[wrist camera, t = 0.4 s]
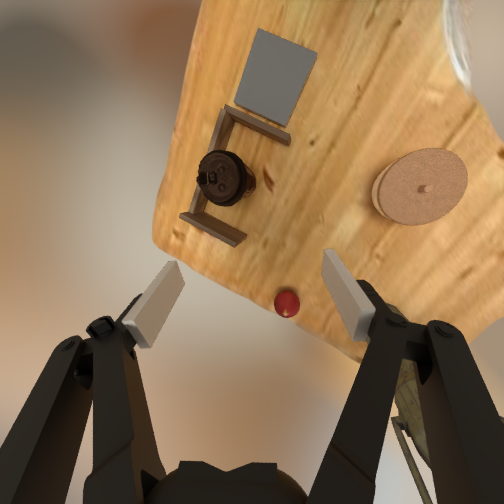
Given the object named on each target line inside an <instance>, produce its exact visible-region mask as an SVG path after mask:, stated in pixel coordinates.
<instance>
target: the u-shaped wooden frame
mask: <svg viewBox="0 0 504 504" xmlns="http://www.w3.org/2000/svg"><path fill="white" fill-rule="evenodd" d="M235 121H237V122H239V123H241V124H243V125H245V126H247V127H249V128H251V129H254V130H256V131H258V132H260V133H262V134H264V135H266V136H268V137H270V138H273V139H275V140H277V141H279V142H281V143H283V144H285V145H287V146H289V145H290V142H291V136H290V134H288V133H286V132H284V131H282V130H279V129H277V128H275V127H273V126H271V125H269V124H267V123H265V122H262V121H260V120H258V119H256V118H254V117H252V116H250V115H247V114H245V113H243V112H241V111H239V110H237V109H235V108H233V107H230V106H228V105H226V104H225V106H224V109H222V108H221V110H220V113H219V116H218V119H217V122H216V126H215V129H214V132H213V135H212V138H211V142H210V145H209V148H208V151H207V154H208V153H210V152H211V151H214V150H219V149H220V150H224V151H225V149H226V146H227V143H228V140H229V137H230V134H231V131H232V129H233V126H234V123H235ZM207 154H206V155H207ZM207 201H208V199H207V198H206V197H205V196H204V195H203V191H202V189H201V188H200V187H199V185H198V183H197V186H196V189H195V192H194V196H193V199H192V202H191V205H190V208H189V212H184V213H180V215H179V218H180V219H182V220H184V221H186V222H188V223H190V224H192V225H193V226H195V227H197V228H199V229H201V230H203V231H205V232H206V233H208V234H210V235H212V236H214V237H216V238H218V239H220V240H221V241H223V242H225V243H227V244H229V245H231V246H233V247H234V248H235V247H236V246H237V245H239V244H240V243H241V242H242V241H243V240H245V239H246V237H247V235H246V234H245V233H243V232H241V231H239V230H237V229H235V228H233V227H231V226H229V225H228V224H226V223H224V222H222V221H220V220H218V219H216V218H214V217H212V216H210V215H209V214H207V213H205V212H204V209H205V206H206V204H207Z"/></svg>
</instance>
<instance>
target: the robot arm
mask: <svg viewBox="0 0 504 504" xmlns="http://www.w3.org/2000/svg"><path fill="white" fill-rule="evenodd" d="M322 277H323V279H324V282H325V284H326V286H327V288H328V290H329V292H330V294H331V296H332V299H333V301H334V303H335V305H336V307H337V309H338V311H339V313H340V316H341V318H342V320H343V322H344V324H345V326H346V328H347V330H348V332H349V335H350V337H351V339H352V341H366V338H367V335H368V336H369V338H370V342H369V345H368V347H367V350H366V353H365V355H364V358H363V360H362V363H361V365H360V368H359V371H358V373H357V376H356V378H355V381H354V384H353V386H352V388H351V391H350V393H349V396H348V398H347V401H346V404H345V406H344V409H343V411H342V414H341V416H340V419H339V421H338V424H337V427H336V429H335V432H334V434H333V437H332V439H331V441H330V444H329V446H328V448H327V451H326V453H325V456H324V458H323V461H322V463H321V466H320V468H319V471H318V473H317V476H316V478H315V481H314V483H313V486H312V488H311V491H310V494H309V496H307V495H306V493H305V492H304V490H303V489H302V488H301V486H300V485H299V484H298V483H297V482H296V481H295V480H294V479H293V478H292V477H290V476H289V475H287V474H286V473H285V472H283V471H281V470H278V469H277V463H254V462H252V463H249V464H247V465H244V466H241V467H239V468H236V469H233V470H231V471H228V472H225V471H222V470H220V469H218V468H216V467H214V466H212V465H210V464H207V463H205V462H203V461H180V463H179V467H178V469H176V470H174V471H172V472H170V473H169V474H168V475H166V472H165V469H164V467H163V465H162V463H161V460H160V458H159V454H158V450H157V445H156V441H155V436H154V432H153V428H152V423H151V419H150V414H149V410H148V405H147V401H146V396H145V392H144V388H143V383H142V379H141V374H140V370H139V365H138V361H137V356H136V352H135V350H134V349H133V348H134V346H135V345H136V343H137V344H138V346H139V347H140V348H151V347H152V345H153V343H154V341H155V339H156V338H157V336H158V334H159V332H160V330H161V328H162V326H163V324H164V323H165V321H166V319H167V317H168V315H169V313H170V311H171V309H172V307H173V306H174V304H175V302H176V300H177V298H178V296H179V295H180V292H181V291H182V289H183V287H184V285H185V282H184V280H183V277H182V275H181V272H180V269H179V267H178V264H177V261H168V262H167V264H166V265H165V266H164V267H163V269H162V270H161V271H160V273H159V274H158V275H157V276H156V278H155V279H154V280H153V281H152V283H151V284H150V285H149V287H148V288H147V289H146V291H145V292H144V293H143V294H139V295H138V296H137V297H136V298H134V299H133V301H132V302H131V303H130V305H128V307H127V308H126V309H125V310H124V312H123V313H122V314H121V315H120V316H119V318H118V319H117V320H116V321H115V322H114V321H113V319H112V318H111V317H110V316H103V317H100V318H98V319H96V320H94V321H93V322H92V323H91V324H89V326H88V327H87V329H86V332H87V333H88V334H89V335H90V337H91V338H88V339H85V340H83V339H82V338H81V337H80V336H77V335H76V336H72V337H69V338H68V339H65V340H64V341H62V342H61V343H60V344H59V345H58V346H57V347H56V348H55V349H54V351H53V352H52V354H51V356H50V358H49V360H48V362H47V363H46V365H45V367H44V369H43V371H42V373H41V374H40V376H39V378H38V380H37V382H36V384H35V386H34V387H33V389H32V391H31V393H30V395H29V397H28V398H27V400H26V402H25V404H24V406H23V408H22V409H21V412H20V413H19V415H18V417H17V419H16V420H15V422H14V424H13V426H12V428H11V430H10V431H9V433H8V435H7V437H6V439H5V441H4V443H3V444H2V446H1V448H0V504H65V501H66V497H67V493H68V489H69V486H70V482H71V478H72V475H73V471H74V467H75V463H76V460H77V456H78V453H79V449H80V445H81V442H82V438H83V434H84V431H85V427H86V423H87V419H88V416H89V412H90V408H91V405H92V401H93V470H92V473H91V474H90V475H89V476H88V477H87V478H86V480H85V483H84V489H83V504H373V501H374V495H375V487H376V486H375V478H376V473H377V469H378V464H379V459H380V455H381V451H382V447H383V442H384V438H385V433H386V429H387V424H388V420H389V416H390V412H391V407H392V403H393V398H394V394H395V390H396V385H397V381H398V376H399V372H400V368H401V363H402V359H406V360H410V361H412V362H413V367H414V373H415V379H416V384H417V390H418V396H419V402H420V407H421V413H422V419H423V424H424V430H425V436H426V441H427V447H428V453H429V458H430V464H431V470H432V475H433V481H434V487H435V493H436V498H437V503H438V504H504V425H503V423H502V421H501V419H500V416H499V414H498V412H497V410H496V407H495V405H494V403H493V401H492V398H491V396H490V394H489V392H488V389H487V387H486V385H485V383H484V381H483V378H482V376H481V374H480V371H479V369H478V367H477V365H476V363H475V360H474V359H473V356H472V354H471V351H470V349H469V347H468V345H467V342H466V340H465V338H464V336H463V334H462V333H461V331H459V330H458V329H457V328H456V327H454V326H453V325H451V324H449V323H446V322H443V321H439V320H432V321H430V322H428V324H427V325H421V324H416V323H411V322H408V321H407V320H406V319H405V318H404V317H403V316H401V315H399V314H397V313H394V312H392V311H391V309H390V308H389V307H388V306H387V304H386V303H385V302H384V301H383V299H382V298H381V297H380V296H379V295H378V293H377V292H376V291H375V289H374V288H373V287H372V285H371V284H369V283H368V282H366V281H365V280H355V279H354V277H353V276H352V275H351V273H350V272H349V270H348V269H347V267H346V266H345V265H344V263H343V262H342V260H341V259H340V257H339V256H338V255H337V253H336V252H335V250H334V249H324V254H323V265H322Z"/></svg>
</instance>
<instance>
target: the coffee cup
mask: <svg viewBox="0 0 504 504" xmlns="http://www.w3.org/2000/svg"><path fill="white" fill-rule="evenodd" d="M198 174H199V176H198V177H197V180H196V181H197V183H198V185H199V187H200V188H201V189H202V191H203V195H204V196H205V197H206V198H207V199H209V200H210V202H212V203H214V204H216V205H219V206H233V205H234V204H235V203H237V202H238V201H239V200H241V199H242V198H245V197H247V196H249V195H251V194H252V193H253V192H254V190H255V188H256V178H255V176H254V174H253V172H252V171H251V170H250V169H249V168H248V167H247V166H246V165H245V164H244V163H243V161H242V160H241V159H240V158H239V157H238V156H237V155H236V154H234V153H232V152H229V151H224V150H220V149H219V150H214V151H211V152H210V153H208V154H207V155H206V156H204V158H203V159H202V160H201V161H200V164H199V170H198Z"/></svg>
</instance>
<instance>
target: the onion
mask: <svg viewBox="0 0 504 504" xmlns="http://www.w3.org/2000/svg"><path fill="white" fill-rule="evenodd" d="M274 307H275V310H276V312H277V313H278V314H279V315H280V316H282V317H284V318H290V317H293V316H294V315H296V314H297V313H298V311H299V308H300V302H299V298H298V297H297V295H296V294H294V293H293V292H290V291H282V292H280V293H278V295H277V296H276V298H275V300H274Z"/></svg>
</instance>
